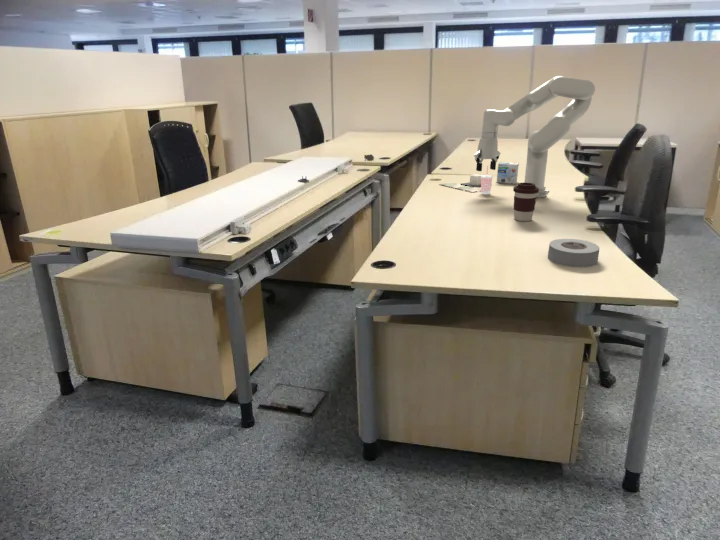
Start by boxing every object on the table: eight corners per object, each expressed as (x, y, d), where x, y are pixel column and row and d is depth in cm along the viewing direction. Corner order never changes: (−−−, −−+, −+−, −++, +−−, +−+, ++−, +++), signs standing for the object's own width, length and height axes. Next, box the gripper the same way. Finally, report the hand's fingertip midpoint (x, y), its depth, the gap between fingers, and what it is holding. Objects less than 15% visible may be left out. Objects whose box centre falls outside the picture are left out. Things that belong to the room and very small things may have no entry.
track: (484, 190, 280) (484, 189, 280) (472, 192, 275) (472, 191, 275) (451, 183, 300) (451, 182, 300) (438, 184, 296) (438, 184, 296)
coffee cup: (522, 223, 217) (526, 187, 212) (505, 218, 225) (508, 183, 220) (540, 220, 221) (544, 184, 216) (523, 215, 229) (526, 180, 224)
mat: (491, 185, 293) (491, 184, 293) (475, 187, 287) (475, 187, 287) (476, 182, 302) (476, 181, 302) (460, 184, 296) (460, 183, 296)
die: (482, 184, 294) (483, 175, 292) (476, 185, 291) (476, 176, 289) (475, 183, 298) (476, 173, 296) (469, 184, 295) (470, 174, 293)
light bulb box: (496, 182, 301) (497, 163, 297) (498, 180, 307) (499, 161, 303) (515, 183, 297) (517, 164, 293) (517, 181, 303) (519, 162, 299)
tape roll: (587, 271, 165) (589, 255, 163) (539, 260, 174) (541, 246, 172) (604, 259, 175) (606, 244, 174) (558, 249, 185) (560, 235, 183)
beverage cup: (489, 192, 277) (491, 164, 272) (493, 194, 271) (495, 166, 266) (478, 192, 276) (480, 165, 272) (481, 194, 271) (483, 166, 266)
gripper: (496, 134, 271) (492, 167, 277) (471, 135, 262) (468, 170, 268) (507, 135, 265) (503, 170, 271) (482, 137, 256) (478, 172, 262)
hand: (485, 170), depth 270 cm, fingers open, 9 cm apart
